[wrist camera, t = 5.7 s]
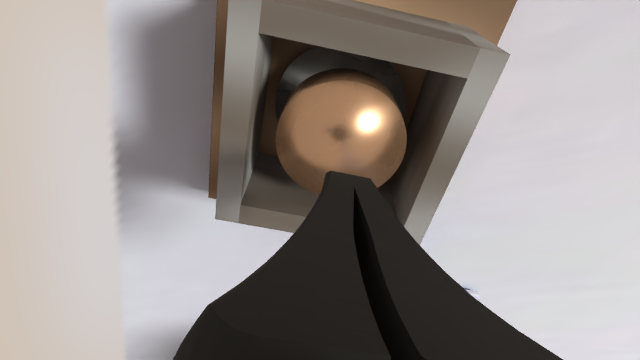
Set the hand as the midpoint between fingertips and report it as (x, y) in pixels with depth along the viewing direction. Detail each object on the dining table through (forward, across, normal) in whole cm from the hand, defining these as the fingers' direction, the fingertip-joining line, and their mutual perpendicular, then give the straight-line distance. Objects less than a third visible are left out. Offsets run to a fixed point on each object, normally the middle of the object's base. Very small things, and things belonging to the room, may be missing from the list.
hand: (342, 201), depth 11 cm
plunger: (+7, 0, 0) cm, 7 cm away
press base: (+9, 0, 0) cm, 9 cm away
